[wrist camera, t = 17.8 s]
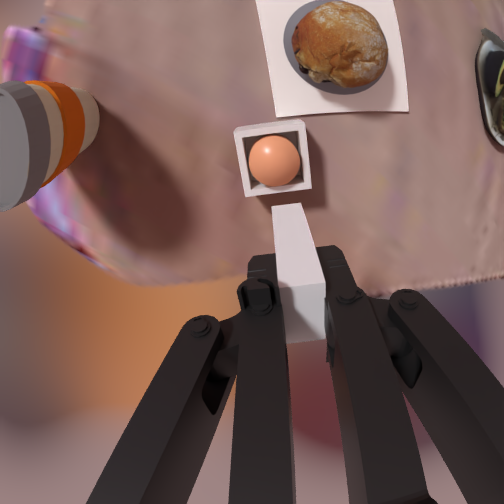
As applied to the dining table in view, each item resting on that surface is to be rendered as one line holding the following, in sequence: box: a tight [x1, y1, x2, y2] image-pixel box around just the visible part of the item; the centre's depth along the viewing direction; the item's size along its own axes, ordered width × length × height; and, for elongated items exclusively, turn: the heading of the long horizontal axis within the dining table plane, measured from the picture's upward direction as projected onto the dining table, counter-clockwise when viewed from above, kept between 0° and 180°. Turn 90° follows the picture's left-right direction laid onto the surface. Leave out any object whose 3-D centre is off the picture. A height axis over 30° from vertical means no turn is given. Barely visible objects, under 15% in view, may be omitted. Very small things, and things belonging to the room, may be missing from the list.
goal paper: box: [256, 0, 409, 117], centre depth 24 cm, size 16×16×1 cm
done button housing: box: [234, 119, 312, 197], centre depth 30 cm, size 7×7×4 cm
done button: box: [249, 133, 300, 186], centre depth 29 cm, size 5×5×3 cm
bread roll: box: [291, 1, 389, 88], centre depth 22 cm, size 10×10×8 cm
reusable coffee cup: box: [0, 80, 100, 212], centre depth 22 cm, size 13×13×15 cm
